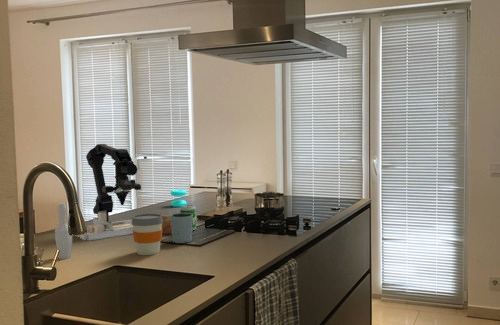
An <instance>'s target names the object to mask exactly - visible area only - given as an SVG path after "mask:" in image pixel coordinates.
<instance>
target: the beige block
mask: <svg viewBox="0 0 500 325" xmlns="http://www.w3.org/2000/svg"><path fill="white" fill-rule="evenodd" d="M93 225H94V224H93ZM101 231H104V225H101V224H98V225H94V232H101Z"/></svg>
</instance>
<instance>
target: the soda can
mask: <svg viewBox="0 0 500 325" xmlns="http://www.w3.org/2000/svg"><path fill="white" fill-rule="evenodd" d="M179 208H180V209H179V210H180V212H179V213H191V214H193V220H192V232H194V231H195V230H196V229H197V215H196V214H197V208H196V207H195V205H192V204H188V205H184V206H182V207H179ZM193 230H194V231H193Z"/></svg>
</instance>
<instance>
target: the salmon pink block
mask: <svg viewBox="0 0 500 325" xmlns="http://www.w3.org/2000/svg"><path fill="white" fill-rule="evenodd" d="M87 226H88V225H87ZM88 233H94V226H88Z"/></svg>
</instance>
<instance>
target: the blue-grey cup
mask: <svg viewBox="0 0 500 325" xmlns="http://www.w3.org/2000/svg"><path fill="white" fill-rule="evenodd" d="M169 216H170V219H171V228H172V234H171V236H172V238H171V239H172V240H171V241H172V243H174V242H175V243H174V244H186V243H185V242H188V243H190V241H191V242H192V239H193V238H192V236H193V231H192V220H193V214H191V213H180V212H175V213H172V214H170V215H169Z"/></svg>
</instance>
